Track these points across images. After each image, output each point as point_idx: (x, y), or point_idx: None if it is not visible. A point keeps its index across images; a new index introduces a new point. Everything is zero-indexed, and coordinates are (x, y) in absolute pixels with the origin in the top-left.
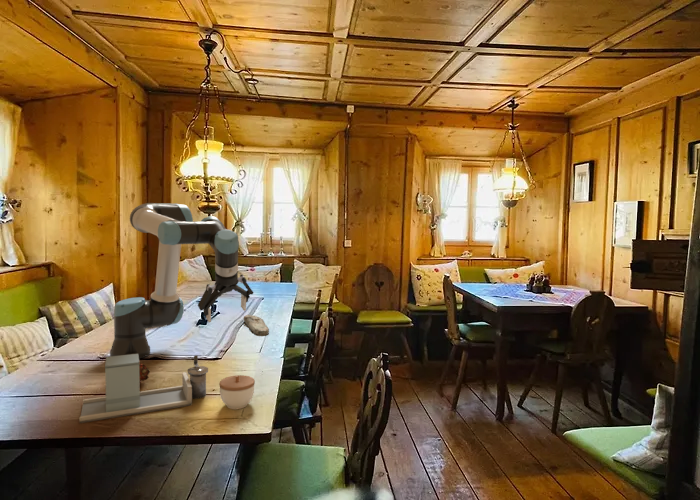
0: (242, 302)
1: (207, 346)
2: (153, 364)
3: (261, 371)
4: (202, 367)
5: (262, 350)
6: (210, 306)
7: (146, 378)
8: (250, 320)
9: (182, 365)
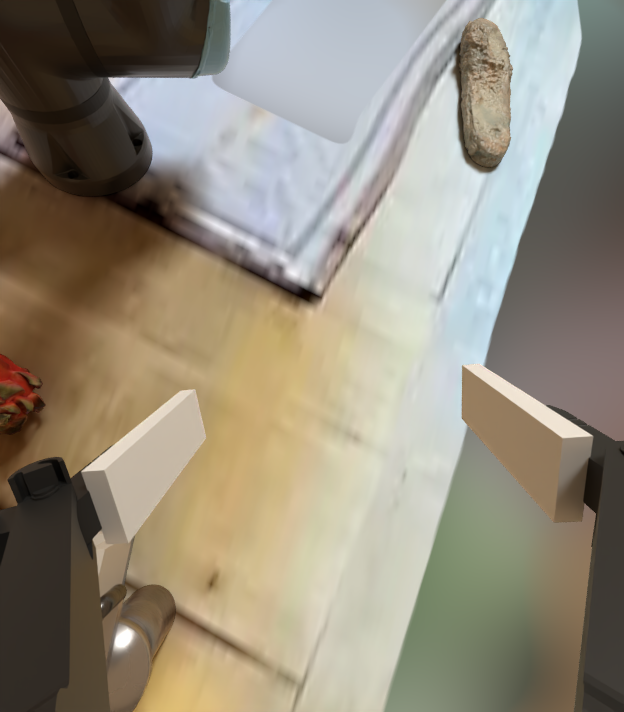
0: (496, 421)
1: (313, 183)
2: (126, 258)
3: (400, 475)
4: (128, 654)
5: (450, 287)
6: (98, 578)
7: (39, 406)
8: (477, 63)
9: (198, 305)
